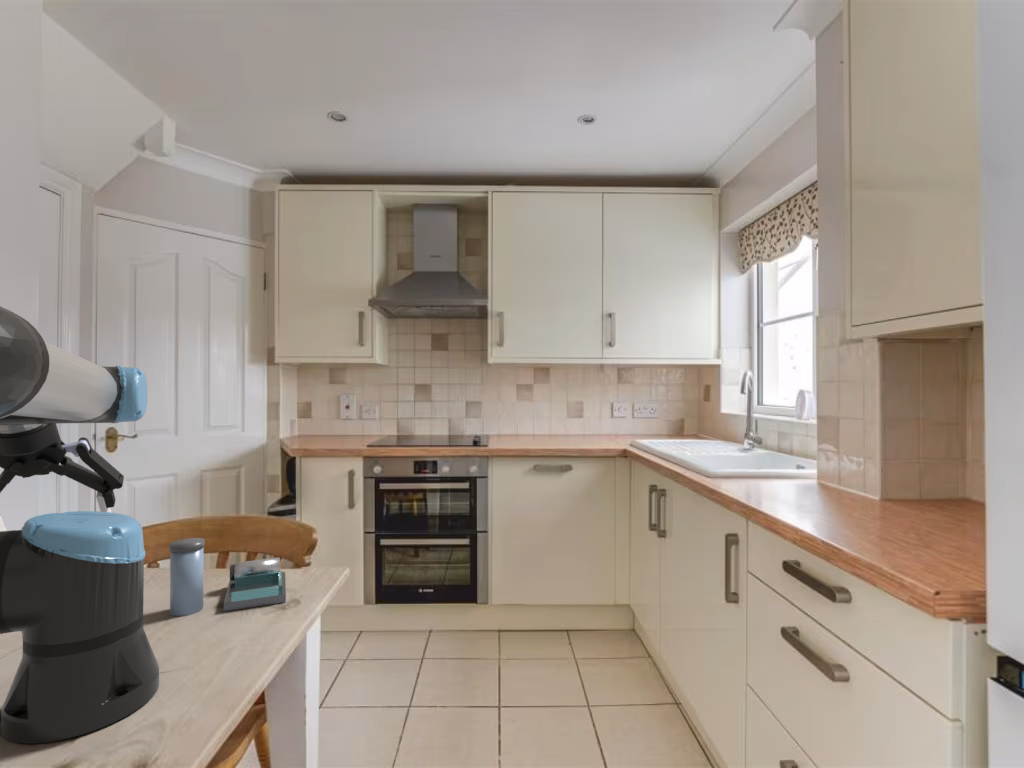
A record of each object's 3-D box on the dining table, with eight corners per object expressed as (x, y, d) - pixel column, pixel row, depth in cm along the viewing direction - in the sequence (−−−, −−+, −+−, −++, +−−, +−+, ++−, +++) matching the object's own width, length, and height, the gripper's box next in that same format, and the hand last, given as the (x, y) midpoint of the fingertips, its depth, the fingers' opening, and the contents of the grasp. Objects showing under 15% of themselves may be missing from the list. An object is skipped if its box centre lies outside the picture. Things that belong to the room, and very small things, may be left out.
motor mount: (285, 602, 96) (285, 574, 96) (223, 611, 92) (223, 582, 92) (285, 579, 108) (285, 554, 108) (230, 586, 104) (230, 560, 104)
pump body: (202, 613, 91) (202, 544, 91) (165, 619, 89) (166, 548, 89) (206, 602, 96) (206, 536, 96) (171, 607, 94) (172, 539, 94)
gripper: (126, 398, 86) (150, 500, 95) (-90, 420, 74) (-38, 534, 83) (121, 421, 80) (147, 528, 89) (-114, 449, 68) (-56, 568, 78)
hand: (57, 531), depth 86 cm, fingers open, 13 cm apart
